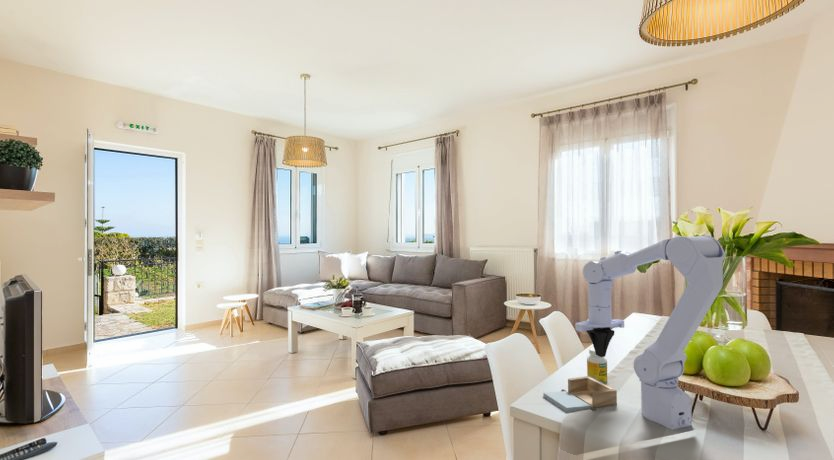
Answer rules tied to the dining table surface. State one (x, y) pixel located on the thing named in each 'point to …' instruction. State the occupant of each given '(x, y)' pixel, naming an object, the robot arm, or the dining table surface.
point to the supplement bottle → (596, 366)
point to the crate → (592, 392)
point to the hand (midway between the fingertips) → (600, 355)
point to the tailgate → (566, 401)
